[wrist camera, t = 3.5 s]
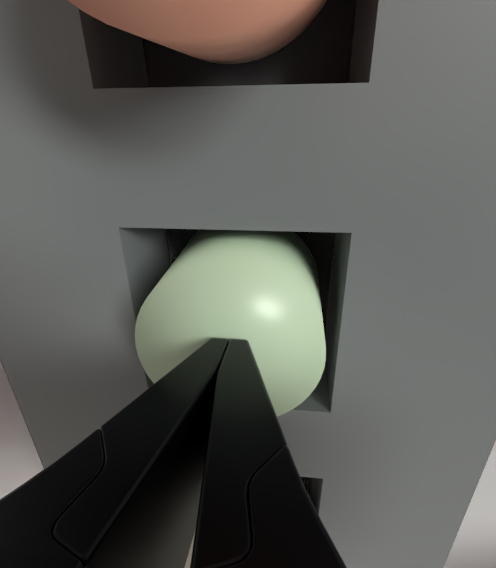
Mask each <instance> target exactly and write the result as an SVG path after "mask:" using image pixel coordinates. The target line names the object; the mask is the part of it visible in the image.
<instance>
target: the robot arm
mask: <svg viewBox="0 0 496 568" xmlns="http://www.w3.org/2000/svg"><path fill="white" fill-rule="evenodd" d="M100 429H101V430H100ZM100 429H97V430H95V431H94V432H93V433H91V434H90V435H89V436H88V437H86V438H85V439H84V440H83V441H81V442H80V443H79V444H78V445H76V446H75V447H74V448H72V449H71V450H70V451H68V452H67V453H66V454H64V455H63V456H62V457H60V458H59V459H58V460H57V461H55V462H54V463H52V464H51V465H50V466H48V467H47V468H45V469H44V470H42V471H41V472H40V473H38V474H37V475H35V476H34V477H33V478H31V479H30V480H28V481H27V482H25V483H24V484H23V485H21V486H20V487H18V488H17V489H15V490H14V491H12V492H11V493H9V494H8V495H6V496H5V497H3V498H2V499H0V568H185V564H186V561H187V557H188V554H189V550H190V547H191V543H192V540H193V536H194V533H195V536H194V543H193V550H192V558H191V565H190V568H347V567H346V565H345V563H344V561H343V559H342V558H341V556H340V554H339V552H338V550H337V548H336V547H335V545H334V543H333V541H332V539H331V537H330V536H329V534H328V532H327V530H326V528H325V526H324V524H323V523H322V521H321V519H320V517H319V515H318V513H317V511H316V509H315V507H314V505H313V503H312V501H311V499H310V497H309V495H308V493H307V491H306V489H305V487H304V484H303V482H302V480H301V477H300V475H299V472H298V470H297V468H296V465H295V463H294V460H293V458H292V455H291V452H290V450H289V447H288V446H287V442H286V440H285V437H284V434H283V432H282V429H281V426H280V424H279V421H278V418H277V416H276V413H275V410H274V408H273V405H272V402H271V400H270V397H269V394H268V392H267V389H266V386H265V384H264V381H263V378H262V376H261V373H260V370H259V368H258V365H257V362H256V360H255V357H254V355H253V352H252V349H251V347H250V344H249V342H248V340H243V339H231V340H230V341H229V339H226V338H211V339H210V340H208V341H207V342H206V343H205V344H203V345H202V346H201V347H200V348H198V349H197V350H196V351H194V352H193V353H192V354H191V355H189V356H188V357H187V358H186V359H184V360H183V361H182V362H181V363H179V364H178V365H177V366H176V367H174V368H173V369H172V370H171V371H169V372H168V373H167V374H166V375H164V376H163V377H162V378H161V379H159V380H158V381H157V382H156V383H154V384H153V385H152V386H151V387H149V388H148V389H147V390H146V391H144V392H143V393H142V394H141V395H139V396H138V397H137V398H136V399H134V400H133V401H132V402H131V403H129V404H128V405H127V406H126V407H124V408H123V409H122V410H121V411H119V412H118V413H117V414H116V415H114V416H113V417H112V418H111V419H109V420H108V421H107V422H106V423H104V424H103V425H102V426H101V427H100Z"/></svg>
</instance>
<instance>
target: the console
mask: <svg viewBox="0 0 496 568" xmlns="http://www.w3.org/2000/svg"><path fill="white" fill-rule="evenodd" d="M166 229H207V230H249V231H292V232H334V233H335V236H334V246H333V257H332V267H331V278H330V288H329V299H328V310H327V320H326V331H325V343H326V361H325V367H324V371H323V373H322V376H321V379H320V381H319V383H318V384H317V386H316V388H315V389H314V390H313V392H312V393H311V394H310V396H309V397H307V398H306V399H305V400H304V401H303V402H302V403H301V404H300V405H298V406H297V407H295V408H294V409H292V410H290V411H289V412H287V413H285V414H283V415H280V416H277V418H278V421H279V424H280V426H281V429H282V432H283V434H284V437H285V440H286V442H287V446H288V447H289V450H290V452H291V455H292V458H293V460H294V463H295V465H296V468H297V470H298V472H299V475H300V477H311V489H310V493H308V495H309V497H310V499H311V501H312V503H313V505H314V507H315V509H316V511H317V513H318V515H319V517H320V519H321V521H322V523H323V524H324V526H325V528H326V530H327V532H328V534H329V536H330V537H331V539H332V541H333V543H334V545H335V547H336V548H337V550H338V552H339V554H340V556H341V558H342V559H343V561H344V563H345V565H346V567H347V568H443V567H444V564H445V562H446V559H447V557H448V554H449V552H450V550H451V547H452V545H453V542H454V540H455V537H456V535H457V533H458V530H459V528H460V525H461V523H462V520H463V518H464V516H465V513H466V511H467V508H468V506H469V503H470V501H471V499H472V496H473V494H474V491H475V489H476V486H477V484H478V482H479V479H480V477H481V474H482V472H483V469H484V467H485V465H486V462H487V460H488V457H489V455H490V452H491V450H492V448H493V445H494V442H495V440H496V0H357V4H356V14H355V25H354V35H353V46H352V57H351V67H350V78H349V83H330V84H285V85H239V86H194V87H149V88H148V81H147V73H146V65H145V57H144V48H143V40H142V37H139V36H136V35H134V34H131V33H129V32H126V31H123V30H121V29H118V28H115V27H113V26H110V25H108V24H106V23H104V22H102V21H100V20H98V19H96V18H94V17H92V16H91V15H89V14H87V13H85V12H83V11H82V10H80V9H79V8H78V7H76V6H75V5H73V4H72V3H71V2H69V1H68V0H0V360H1V363H2V365H3V368H4V370H5V373H6V375H7V378H8V380H9V383H10V385H11V388H12V390H13V393H14V395H15V398H16V400H17V403H18V405H19V408H20V410H21V413H22V415H23V417H24V420H25V422H26V425H27V427H28V430H29V432H30V435H31V437H32V440H33V442H34V445H35V447H36V450H37V452H38V455H39V457H40V460H41V462H42V465H43V467H44V469H45V468H47V467H48V466H50V465H51V464H52V463H54V462H55V461H57V460H58V459H59V458H60V457H62V456H63V455H64V454H66V453H67V452H68V451H70V450H71V449H72V448H74V447H75V446H76V445H78V444H79V443H80V442H81V441H83V440H84V439H85V438H86V437H88V436H89V435H90V434H91V433H93V432H94V431H95V430H97V429H100V427H101V426H102V425H103V424H104V423H106V422H107V421H108V420H109V419H111V418H112V417H113V416H114V415H116V414H117V413H118V412H119V411H121V410H122V409H123V408H124V407H126V406H127V405H128V404H129V403H131V402H132V401H133V400H134V399H136V398H137V397H138V396H139V395H141V394H142V393H143V392H144V391H146V390H147V389H148V388H149V387H151V386H152V385H153V384H154V383H153V382H152V381H151V379H150V378H149V377H148V375H147V374H146V372H145V370H144V368H143V367H142V364H141V362H140V360H139V357H138V354H137V350H136V344H135V325H136V320H137V316H138V314H139V311H140V309H141V307H142V305H143V303H144V301H145V300H146V298H147V297H148V296H149V294H150V293H151V292H152V290H153V289H154V288H155V286H156V285H157V284H158V282H159V281H160V280H161V278H162V277H163V276H164V274H165V273H166V272H167V270H168V269H169V268H170V261H169V253H168V244H167V236H166ZM100 430H101V429H100Z"/></svg>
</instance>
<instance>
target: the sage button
mask: <svg viewBox="0 0 496 568" xmlns="http://www.w3.org/2000/svg"><path fill="white" fill-rule="evenodd" d="M211 338H226V339H229V341H230V340H231V339H243V340H248V342H249V344H250V347H251V349H252V352H253V355H254V357H255V360H256V362H257V365H258V368H259V370H260V373H261V376H262V378H263V381H264V384H265V386H266V389H267V392H268V394H269V397H270V400H271V402H272V405H273V408H274V410H275V413H276V416H280V415H283V414H285V413H287V412H289V411H290V410H292V409H294V408H295V407H297V406H298V405H300V404H301V403H302V402H303V401H304V400H305V399H306V398H307V397H309V396H310V394H311V393H312V392H313V390H314V389H315V388H316V386H317V384H318V383H319V381H320V379H321V376H322V373H323V371H324V367H325V361H326V343H325V334H324V325H323V317H322V308H321V299H320V290H319V281H318V273H317V267H316V264H315V261H314V258H313V256H312V254H311V252H310V250H309V249H308V247H307V246H306V244H305V243H304V242H303V241H302V239H301V238H300V237H299V236H298V235H297V234H295V233H294V232H292V231H249V230H207V229H200V230H199V231H198V232H197V233H196V234H195V235H194V236H193V237H192V239H191V240H190V241H189V242H188V244H187V245H186V246H185V248H184V249H183V250H182V252H181V253H180V254H179V256H178V257H177V258H176V260H175V261H174V262H173V264H172V265H171V266H170V268H169V269H168V270H167V272H166V273H165V274H164V276H163V277H162V278H161V280H160V281H159V282H158V284H157V285H156V286H155V288H154V289H153V290H152V292H151V293H150V294H149V296H148V297H147V298H146V300H145V301H144V303H143V305H142V307H141V309H140V311H139V314H138V316H137V320H136V325H135V344H136V350H137V354H138V357H139V360H140V362H141V364H142V367H143V368H144V370H145V372H146V374H147V375H148V377H149V378H150V379H151V381H152V382H153V383H156V382H157V381H158V380H159V379H161V378H162V377H163V376H164V375H166V374H167V373H168V372H169V371H171V370H172V369H173V368H174V367H176V366H177V365H178V364H179V363H181V362H182V361H183V360H184V359H186V358H187V357H188V356H189V355H191V354H192V353H193V352H194V351H196V350H197V349H198V348H200V347H201V346H202V345H203V344H205V343H206V342H207V341H208V340H210V339H211Z"/></svg>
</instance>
